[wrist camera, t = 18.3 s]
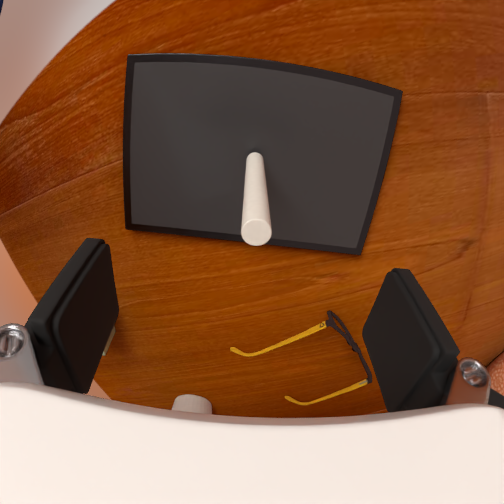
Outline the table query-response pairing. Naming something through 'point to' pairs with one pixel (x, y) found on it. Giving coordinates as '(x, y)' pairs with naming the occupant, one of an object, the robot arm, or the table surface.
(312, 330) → the eyeglasses
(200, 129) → the tablet
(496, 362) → the planter
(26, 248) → the table surface
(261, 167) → the stylus
